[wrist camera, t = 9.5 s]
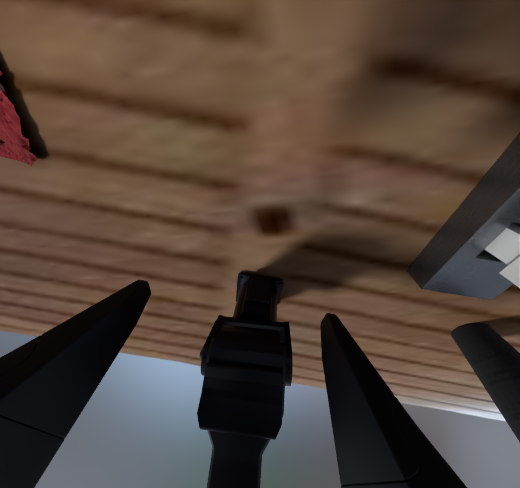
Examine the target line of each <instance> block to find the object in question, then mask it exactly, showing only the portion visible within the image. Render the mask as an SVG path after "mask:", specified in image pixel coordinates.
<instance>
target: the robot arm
mask: <svg viewBox="0 0 520 488" xmlns="http://www.w3.org/2000/svg"><path fill="white" fill-rule="evenodd" d="M282 286H283V280H282V279H279V278H273V277H266V276H260V275H253V274H247V273H239V274H238V281H237V295H236V307H235V311H234V315H233V317H225V316H223V315H219V316H218V318H217V321H215V323H214V325H213V327H212V330H211V332H210V334H209V336H208V338H207V340H206V342H205V344H204V347H203V349H202V350H201V352H200V358H201V360H202V362H201V374H202V375H203V376H204V381H203V387H202V394H201V398H200V403H199V407H198V412H197V415H198V422H199V427H200V429H204V430H208V433H209V436H210V440H211V444H212V448H213V449H212V457H211V464H210V470H209V477H208V483H207V488H260V478H261V463H262V454H263V452H264V450H265V448H266V447H267V445H268V443H269V441H270V439H274V440H275V439H276V437H277V434H278V432H279V430H280V428H281V425H282V417H283V413H284V391H285V386H291V381H292V347H291V337H290V328H289V322H277V304H278V300H279V297H280V293H281V290H282ZM150 295H151V290H150V287H149V284H148V282H147V281H144V280H137V281H135V282H133V283H132V284H130V285H128V286H126V287H125V288H123V289H121V290H119V291H117V292H116V293H114V294H112V295H110V296H109V297H107V298H105V299H103V300H102V301H100V302H98V303H96V304H95V305H93V306H91V307H89V308H88V309H86V310H84V311H82V312H81V313H79V314H77V315H75V316H74V317H72V318H70V319H68V320H67V321H65V322H63V323H61V324H60V325H58V326H56V327H54V328H53V329H51V330H49V331H47V332H45V333H44V334H42V336H38V337H37V338H35V339H33V340H31V341H30V342H28V343H26V344H24V345H22V346H21V347H19V348H17V349H15V350H13V351H12V352H10V353H8V354H6V355H4V356H2V357H1V358H0V488H34V487H35V486H36V484H37V482H38V481H39V479H40V478H41V476H42V475H43V473H44V471H45V470H46V468H47V467H48V465H49V463H50V462H51V460H52V459H53V457H54V455H55V454H56V452H57V451H58V449H59V447H60V446H61V444H62V443H63V441H64V438H65V437H66V436H67V434H68V433H69V431H70V429H71V428H72V426H73V425H74V423H75V422H76V420H77V418H78V417H79V415H80V414H81V412H82V410H83V409H84V407H85V406H86V404H87V402H88V401H89V399H90V398H91V396H92V394H93V393H94V391H95V390H96V388H97V386H98V385H99V383H100V382H101V380H102V378H103V377H104V375H105V374H106V372H107V370H108V369H109V367H110V366H111V364H112V363H113V361H114V359H115V358H116V356H117V355H118V353H119V351H120V350H121V348H122V347H123V345H124V343H125V342H126V340H127V339H128V337H129V335H130V334H131V332H132V331H133V329H134V327H135V326H136V324H137V322H138V320H139V318H140V316H141V314H142V312H143V310H144V308H145V306H146V304H147V302H148V300H149V298H150ZM321 346H322V361H323V368H324V375H325V381H326V388H327V395H328V401H329V407H330V415H331V421H332V428H333V434H334V441H335V448H336V454H337V461H338V468H339V475H340V481H341V488H467V487H466V486H465V484H464V483H463V482H462V481H461V480H460V478H459V477H458V476H457V474H456V473H455V472H454V471H453V470H452V468H451V467H450V466H449V465H448V463H447V462H446V461H445V460H444V459H443V458H442V456H441V455H440V454H439V452H438V451H437V450H436V449H435V448H434V446H433V445H432V444H431V443H430V441H429V440H428V439H427V438H426V436H425V435H424V434H423V433H422V432H421V430H420V429H419V427H418V426H417V425H416V424H415V422H414V421H413V420H412V418H411V417H410V416H409V414H408V413H407V412H406V410H405V409H404V408H403V406H402V405H401V403H400V402H399V401H398V399H397V398H396V397H394V394H393V393H392V391H391V390H390V388H389V387H388V386H387V384H386V383H385V382H384V380H383V379H382V377H381V376H380V375H379V373H378V372H377V371H376V369H375V368H374V366H373V365H372V364H371V362H370V361H369V360H368V358H367V357H366V355H365V354H364V353H363V351H362V350H361V348H360V347H359V346H358V344H357V343H356V342H355V340H354V339H353V337H352V336H351V335H350V333H349V332H348V331H347V329H346V328H345V326H344V325H343V324H342V322H341V321H340V320H339V318H338V317H337V316H336V315H335V314H331V313H327V314H326V315H325V317H324V318H323V320H322V322H321Z"/></svg>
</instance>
